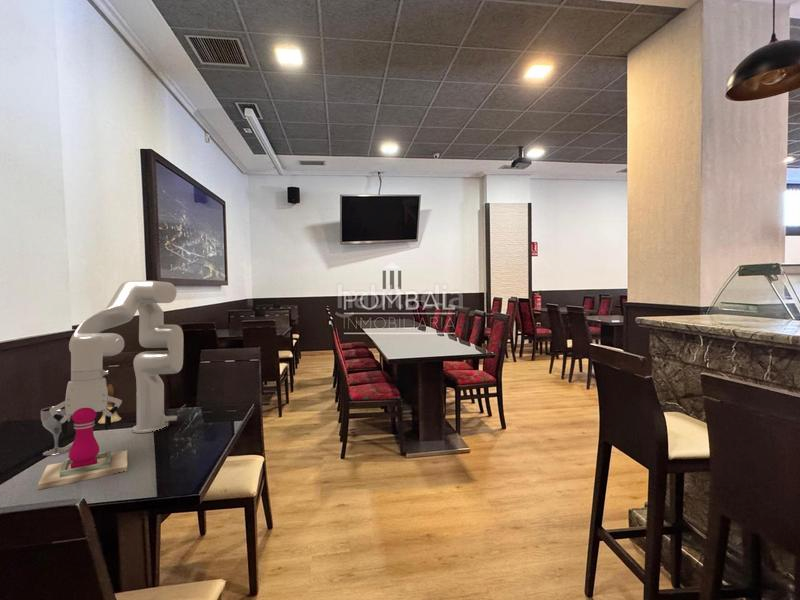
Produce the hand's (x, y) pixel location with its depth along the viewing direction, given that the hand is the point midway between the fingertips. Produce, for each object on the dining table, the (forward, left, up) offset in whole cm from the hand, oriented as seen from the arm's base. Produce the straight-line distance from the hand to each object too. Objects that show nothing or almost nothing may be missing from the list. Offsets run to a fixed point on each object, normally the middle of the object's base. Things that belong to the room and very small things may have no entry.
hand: (87, 431), depth 118 cm
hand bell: (-4, -61, -12) cm, 62 cm away
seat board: (0, 0, -12) cm, 12 cm away
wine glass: (+10, -27, -12) cm, 31 cm away
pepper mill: (+1, +1, -10) cm, 11 cm away
